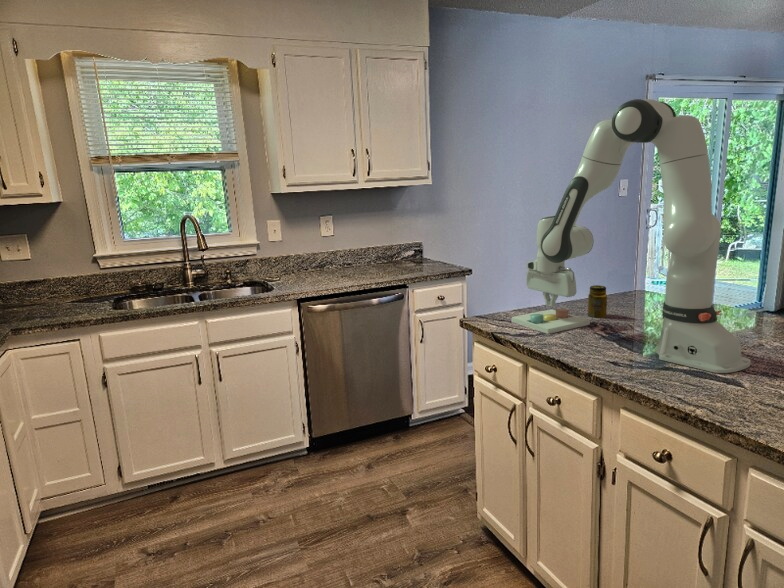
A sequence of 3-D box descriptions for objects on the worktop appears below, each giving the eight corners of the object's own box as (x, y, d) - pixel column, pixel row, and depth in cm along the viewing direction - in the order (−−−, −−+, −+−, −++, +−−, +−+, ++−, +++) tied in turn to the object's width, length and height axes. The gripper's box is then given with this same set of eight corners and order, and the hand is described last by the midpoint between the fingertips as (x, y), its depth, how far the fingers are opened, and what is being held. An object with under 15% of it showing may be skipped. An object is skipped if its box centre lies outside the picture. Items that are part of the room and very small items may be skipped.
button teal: (546, 325, 170) (546, 315, 169) (536, 328, 168) (536, 317, 168) (537, 323, 174) (537, 313, 173) (527, 325, 172) (527, 315, 171)
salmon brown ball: (571, 320, 175) (571, 310, 174) (561, 322, 173) (561, 312, 172) (562, 317, 178) (562, 308, 178) (552, 319, 177) (553, 310, 176)
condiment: (610, 319, 179) (612, 285, 176) (600, 325, 173) (601, 290, 171) (590, 316, 184) (591, 283, 181) (579, 321, 178) (580, 288, 176)
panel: (589, 328, 170) (589, 319, 169) (547, 338, 162) (547, 329, 161) (551, 317, 185) (551, 309, 185) (511, 325, 178) (511, 317, 177)
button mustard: (558, 326, 173) (558, 316, 172) (549, 328, 171) (549, 318, 170) (549, 323, 176) (550, 313, 176) (540, 325, 175) (540, 315, 174)
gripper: (581, 267, 161) (580, 309, 164) (537, 260, 179) (537, 299, 182) (566, 270, 159) (565, 313, 162) (522, 262, 177) (523, 301, 180)
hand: (550, 305), depth 172 cm, fingers closed
